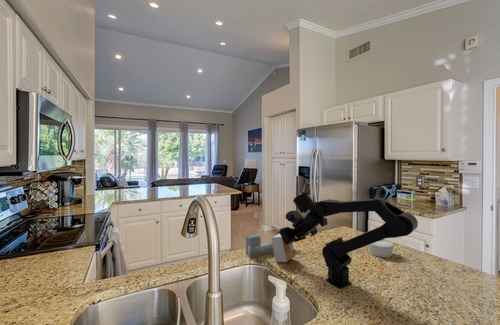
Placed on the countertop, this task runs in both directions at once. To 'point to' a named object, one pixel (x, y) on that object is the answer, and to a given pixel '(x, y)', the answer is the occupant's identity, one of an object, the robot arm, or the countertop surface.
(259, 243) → the block
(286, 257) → the small box
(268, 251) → the rail
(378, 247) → the ramekin
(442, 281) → the countertop surface
